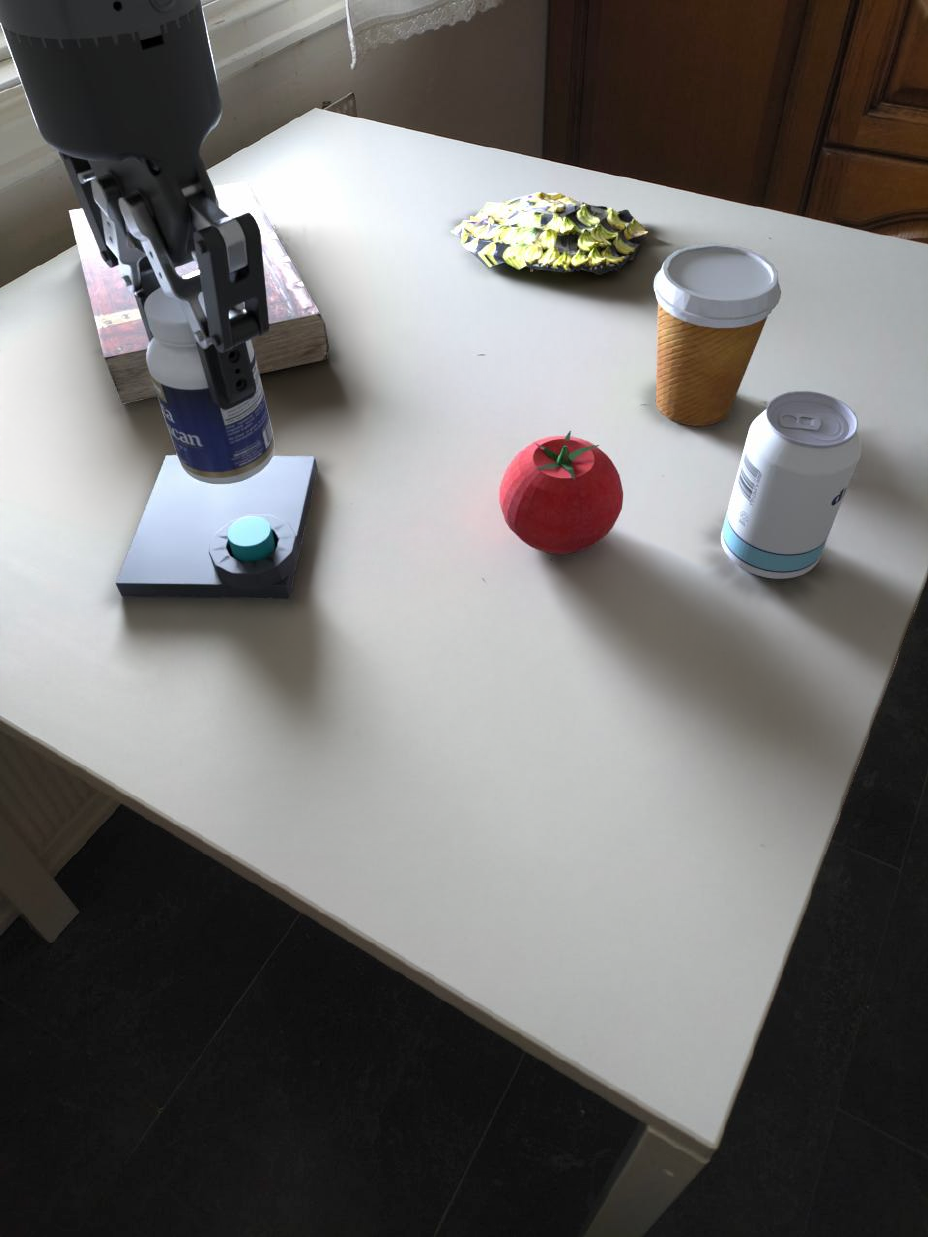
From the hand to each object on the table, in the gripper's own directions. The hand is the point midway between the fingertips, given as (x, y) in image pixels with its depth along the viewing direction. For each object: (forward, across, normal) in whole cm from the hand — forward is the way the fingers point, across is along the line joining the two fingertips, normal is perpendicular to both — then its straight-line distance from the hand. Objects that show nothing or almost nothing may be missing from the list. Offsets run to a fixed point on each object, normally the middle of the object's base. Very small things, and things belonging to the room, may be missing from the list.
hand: (204, 374), depth 47 cm
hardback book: (+20, -40, +18) cm, 48 cm away
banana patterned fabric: (+20, -24, +51) cm, 60 cm away
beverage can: (+20, +19, +30) cm, 41 cm away
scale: (+20, -10, +2) cm, 22 cm away
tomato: (+20, +7, +20) cm, 29 cm away
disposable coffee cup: (+20, +4, +40) cm, 45 cm away
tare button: (+17, -4, +2) cm, 18 cm away
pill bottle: (+6, 0, 0) cm, 6 cm away
